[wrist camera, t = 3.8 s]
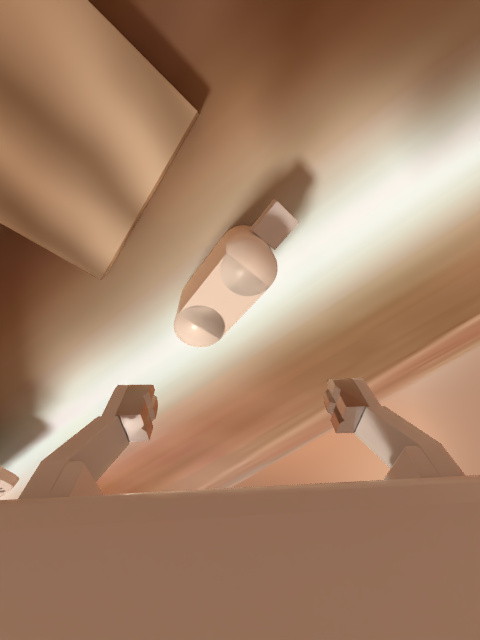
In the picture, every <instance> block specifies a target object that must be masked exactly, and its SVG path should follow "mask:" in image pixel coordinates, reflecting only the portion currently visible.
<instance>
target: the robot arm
mask: <svg viewBox="0 0 480 640" xmlns="http://www.w3.org/2000/svg"><path fill="white" fill-rule="evenodd" d="M327 386H328V388H329V389H327V390H326V391H325V394H324V404H325V408H326V410H327V412H328V413H330V414H331V415H332V417H331V422H332V425H333V427H334V429H335V432H336V433H354V434H355V435H356V436H357V437H358V438H359V439H360V440H361V441H362V442H363V443H364V444H365V445H367V446H368V447H369V448H370V449H371V450H372V451H373V452H374V453H375V454H376V455H377V456H378V457H379V458H380V459H381V460H382V461H383V462H384V463H385V464H386V465H387V466H388V467H389V468H390V470H389V472H388V473H387V475H386V476H385V478H384V480H376V481H359V482H358V481H357V482H340V483H339V482H338V483H319V484H301V485H300V484H299V485H280V486H262V487H243V488H223V489H204V490H185V491H166V492H147V493H128V494H109V495H103V493H102V491H101V489H100V488H99V486H98V485H97V483H96V481H97V480H98V479H99V478H100V477H101V476H102V474H103V473H104V472H105V471H106V470H107V469H108V467H109V466H110V465H111V464H112V463H113V462H114V461H115V459H116V458H117V457H118V456H119V455H120V454H121V453H122V451H123V450H124V449H125V448H126V447H127V446H128V444H129V442H140V441H149V440H150V436H151V433H152V429H153V425H152V421H153V420H154V419H155V418H156V414H157V408H158V402H157V397H156V396H155V395H154V391H155V389H154V386H153V385H118V386H117V387H116V388H115V390H114V392H113V394H112V396H111V398H110V400H109V402H108V404H107V406H106V408H105V410H104V412H103V414H102V416H101V417H97V418H96V419H94V420H93V421H92V422H91V423H89V424H88V425H87V426H85V427H84V428H83V429H82V430H80V431H79V432H78V433H77V434H75V435H74V436H73V437H72V438H70V439H69V440H68V441H67V442H65V443H64V444H63V445H61V446H60V447H59V448H58V449H56V450H55V451H54V452H53V453H51V454H50V455H49V456H48V457H46V458H45V459H44V460H43V461H41V463H40V464H39V466H38V468H37V469H36V471H35V472H34V474H33V476H32V477H31V479H30V480H29V482H28V484H27V485H26V487H25V489H24V490H23V492H22V493H21V495H20V497H19V498H18V499H14V500H0V640H480V475H470V476H466V475H465V474H464V473H463V472H462V470H461V469H460V468H459V466H458V465H457V464H456V463H455V461H454V460H453V459H452V457H451V456H450V455H449V453H448V452H447V451H446V450H445V448H444V447H443V446H442V444H441V443H439V442H438V441H436V440H435V439H433V438H432V437H430V436H429V435H427V434H425V433H424V432H423V431H421V430H419V429H418V428H417V427H415V426H413V425H412V424H411V423H409V422H407V421H406V420H405V419H403V418H401V417H400V416H398V415H397V414H395V413H394V412H393V411H391V410H390V409H388V408H387V407H385V406H381V405H380V403H379V402H378V400H377V399H376V397H375V396H374V394H373V393H372V391H371V390H370V388H369V387H368V385H367V383H366V382H365V380H364V379H362V378H351V379H350V378H344V379H330V380H329V381H328V383H327ZM18 480H19V478H18V477H17V476H16V475H15V474H13V473H11V472H10V471H8V470H6V469H4V468H2V467H1V466H0V497H1V496H2V495H4V494H5V493H7V492H8V491H9V490H11V489H12V488H13V487H14V486H15V484H16V483H17V482H18Z"/></svg>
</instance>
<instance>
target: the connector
mask: <svg viewBox="0 0 480 640" xmlns="http://www.w3.org/2000/svg"><path fill="white" fill-rule="evenodd" d="M298 223H299V222H298V221H297V220H296V219H295V218H294V217H293V216H292V215H291V214H290V213H289V212H288V211H287V210H286V209H285V208H284V207H283V206H282V205H281V204H280V203H279V202H278V201H276V200H275V199H273V200H272V201H271V203H270V204H269V205H268V206H267V208H266V209H265V210H264V211H263V213H262V214H261V215H260V216H259V218H258V219H257V220H256V221H255V223H254V224H253V225H252V226H248V225H239V226H235V227H233V228H231V229H230V230H228V231H227V232H226V233H225V234H224V236H223V237H222V238H221V240H220V241H219V242H218V244H217V245H216V246H215V247H214V249H213V250H212V251H211V253H210V254H209V255H208V257H207V258H206V259H205V261H204V262H203V263H202V264H201V266H200V267H199V268H198V270H197V271H196V272H195V274H194V275H193V276H192V278H191V279H190V280H189V282H188V283H187V284H186V285H185V287H184V288H183V291H182V294H181V298H180V302H179V306H178V310H177V314H176V317H175V321H174V330H175V333H176V335H177V336H178V338H179V339H180V340H182V341H183V342H184V343H186V344H188V345H191V346H195V347H206V346H210V345H212V344H214V343H216V342H217V341H219V340H220V339H221V338H222V337H223V335H224V334H225V333H226V332H227V331H228V330H229V329H230V328H231V327H232V326H233V325H234V324H235V323H236V322H237V321H238V320H239V319H240V318H241V316H242V315H243V314H244V313H245V312H246V311H247V310H248V309H249V308H250V307H251V306H252V305H253V304H254V303H255V302H256V301H257V300H258V299H259V297H260V296H261V295H262V294H263V293H264V292H265V291H266V290H267V289H268V288H269V287H270V286H271V285H272V283H273V282H274V280H275V278H276V275H277V261H276V258H275V256H274V254H273V253H272V251H271V249H270V248H269V246H268V245H270V246H271V247H272V248H273V249H274V250H275V249H276V248H277V247H278V246H279V244H280V243H281V242H282V241H283V240H284V239H285V238H286V237H287V235H288V234H289V233H290V232H291V231H292V230H293V229H294V228H295V226H296V225H297V224H298Z"/></svg>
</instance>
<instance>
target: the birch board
mask: <svg viewBox="0 0 480 640" xmlns="http://www.w3.org/2000/svg"><path fill="white" fill-rule="evenodd" d="M198 116H199V114H198V111H197V110H196V109H195V108H194V107H193V106H192V105H191V104H190V103H189V102H188V101H187V100H186V99H185V98H184V97H183V96H182V95H181V94H180V93H179V92H178V91H177V90H176V89H175V88H174V87H173V86H172V85H171V84H170V83H169V82H168V81H167V80H166V79H165V78H164V77H163V76H162V75H161V74H160V73H159V72H158V71H157V70H156V69H155V68H154V67H153V66H152V65H151V64H150V63H149V62H148V61H147V60H146V58H145V57H144V56H143V55H142V54H141V53H140V52H139V51H138V50H137V49H136V48H135V47H134V46H133V45H132V44H131V43H130V42H129V41H128V40H127V39H126V38H125V37H124V36H123V35H122V34H121V33H120V32H119V31H118V30H117V29H116V28H115V27H114V26H113V25H112V24H111V23H110V22H109V21H108V20H107V19H106V18H105V17H104V16H103V15H102V14H101V13H100V12H99V11H98V10H97V9H96V8H95V7H94V6H93V5H92V4H91V3H90V2H89V1H88V0H0V223H1V224H3V225H5V226H6V227H8V228H10V229H12V230H13V231H15V232H17V233H19V234H20V235H22V236H24V237H26V238H28V239H29V240H31V241H33V242H35V243H36V244H38V245H40V246H42V247H43V248H45V249H47V250H49V251H50V252H52V253H54V254H56V255H57V256H59V257H61V258H63V259H64V260H66V261H68V262H70V263H71V264H73V265H75V266H77V267H78V268H80V269H82V270H84V271H86V272H87V273H89V274H91V275H93V276H94V277H96V278H98V279H100V280H101V279H102V278H103V277H104V276H105V275H106V274H107V273H108V271H109V269H110V268H111V266H112V264H113V262H114V261H115V259H116V257H117V256H118V254H119V252H120V250H121V249H122V247H123V245H124V243H125V242H126V240H127V238H128V237H129V235H130V233H131V231H132V230H133V228H134V226H135V224H136V223H137V221H138V219H139V218H140V216H141V214H142V212H143V211H144V209H145V207H146V205H147V204H148V202H149V200H150V199H151V197H152V195H153V193H154V192H155V190H156V188H157V186H158V185H159V183H160V181H161V180H162V178H163V176H164V174H165V173H166V171H167V169H168V167H169V166H170V164H171V162H172V161H173V159H174V157H175V155H176V154H177V152H178V150H179V149H180V147H181V145H182V143H183V142H184V140H185V138H186V136H187V135H188V133H189V131H190V130H191V128H192V126H193V124H194V123H195V121H196V119H197V117H198Z"/></svg>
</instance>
